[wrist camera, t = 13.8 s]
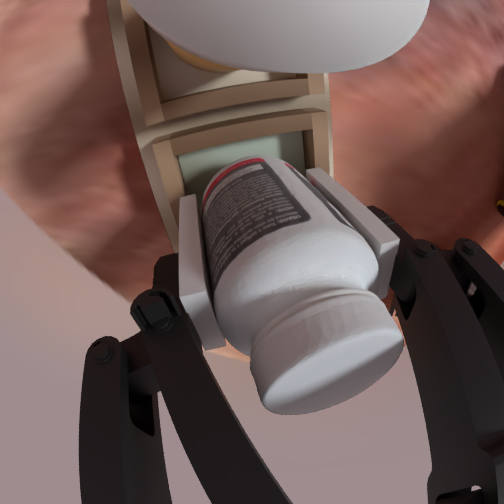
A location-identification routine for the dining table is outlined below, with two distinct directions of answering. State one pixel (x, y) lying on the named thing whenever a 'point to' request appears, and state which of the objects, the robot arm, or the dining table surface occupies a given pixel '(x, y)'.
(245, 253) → the pill bottle
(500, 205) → the decorative lantern
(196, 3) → the amber capped bottle
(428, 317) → the robot arm
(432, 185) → the dining table surface
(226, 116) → the wooden divided tray
